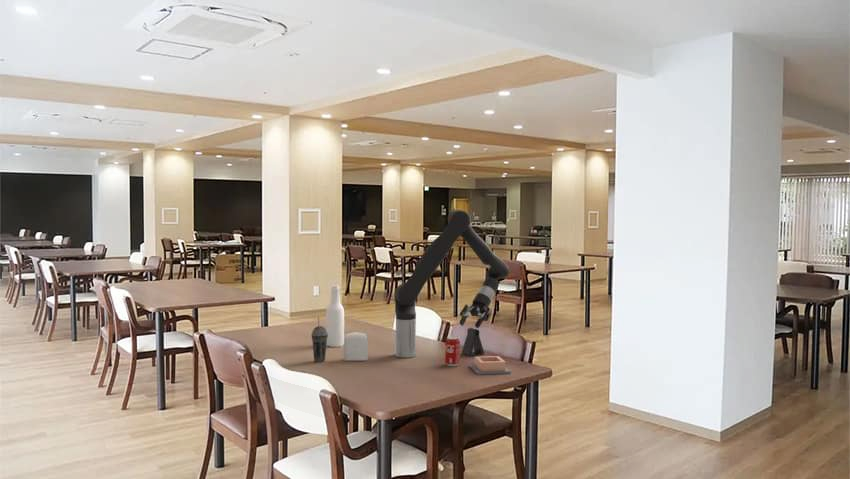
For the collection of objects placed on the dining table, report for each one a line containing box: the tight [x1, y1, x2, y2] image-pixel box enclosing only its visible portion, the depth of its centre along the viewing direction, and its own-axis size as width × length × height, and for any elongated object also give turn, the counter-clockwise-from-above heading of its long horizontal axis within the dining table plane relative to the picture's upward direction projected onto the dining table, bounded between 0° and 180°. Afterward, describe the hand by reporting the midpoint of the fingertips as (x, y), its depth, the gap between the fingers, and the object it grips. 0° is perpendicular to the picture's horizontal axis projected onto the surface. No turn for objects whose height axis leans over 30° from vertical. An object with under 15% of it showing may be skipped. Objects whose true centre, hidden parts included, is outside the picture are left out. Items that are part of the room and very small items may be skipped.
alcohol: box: [325, 284, 345, 348], centre depth 299 cm, size 9×9×30 cm
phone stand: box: [461, 327, 485, 357], centre depth 283 cm, size 9×6×12 cm, turn 118°
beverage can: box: [444, 336, 461, 367], centre depth 261 cm, size 6×6×12 cm
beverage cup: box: [311, 316, 328, 364], centre depth 265 cm, size 7×7×20 cm
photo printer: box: [344, 331, 369, 362], centre depth 269 cm, size 10×4×12 cm, turn 89°
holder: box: [469, 355, 512, 376], centre depth 254 cm, size 14×14×4 cm
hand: (468, 325), depth 270 cm, fingers open, 8 cm apart
